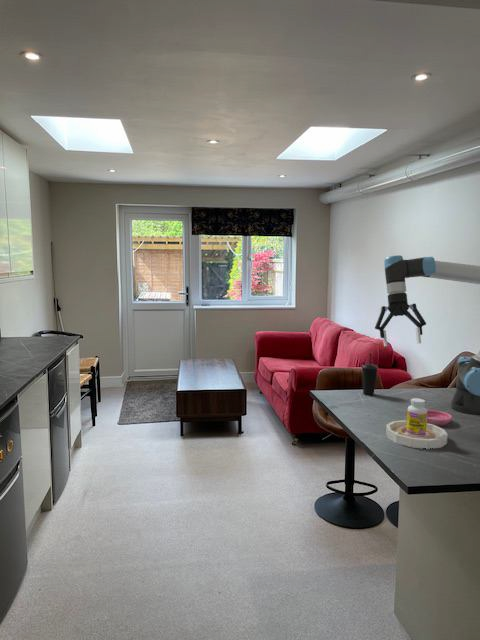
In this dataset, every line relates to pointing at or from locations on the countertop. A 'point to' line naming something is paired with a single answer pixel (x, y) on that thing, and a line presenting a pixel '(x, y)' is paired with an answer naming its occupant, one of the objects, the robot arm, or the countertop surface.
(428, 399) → the countertop surface
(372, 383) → the drinking cup
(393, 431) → the ceramic tray
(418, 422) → the supplement bottle
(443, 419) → the saucer
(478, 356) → the robot arm
